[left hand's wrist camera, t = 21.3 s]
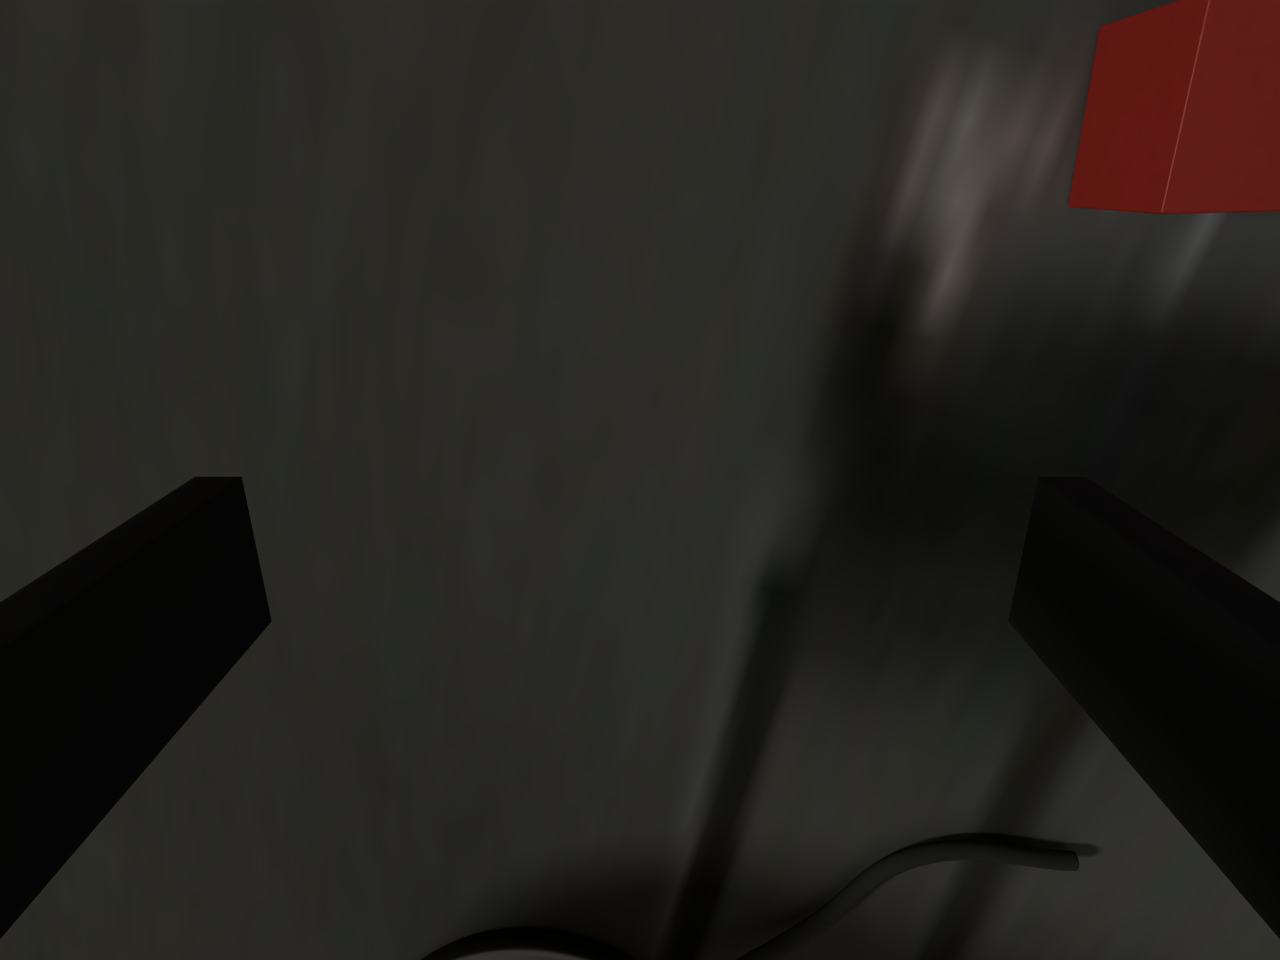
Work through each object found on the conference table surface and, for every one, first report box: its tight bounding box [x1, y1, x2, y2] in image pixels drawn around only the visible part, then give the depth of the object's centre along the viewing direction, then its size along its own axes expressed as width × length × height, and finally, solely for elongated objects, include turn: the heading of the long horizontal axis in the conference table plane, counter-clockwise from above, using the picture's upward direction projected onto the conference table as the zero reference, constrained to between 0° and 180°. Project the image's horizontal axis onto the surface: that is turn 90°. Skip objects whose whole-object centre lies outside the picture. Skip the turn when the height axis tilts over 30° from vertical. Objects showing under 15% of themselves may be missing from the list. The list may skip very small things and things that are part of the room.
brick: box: [1068, 0, 1280, 214], centre depth 21 cm, size 5×5×5 cm
